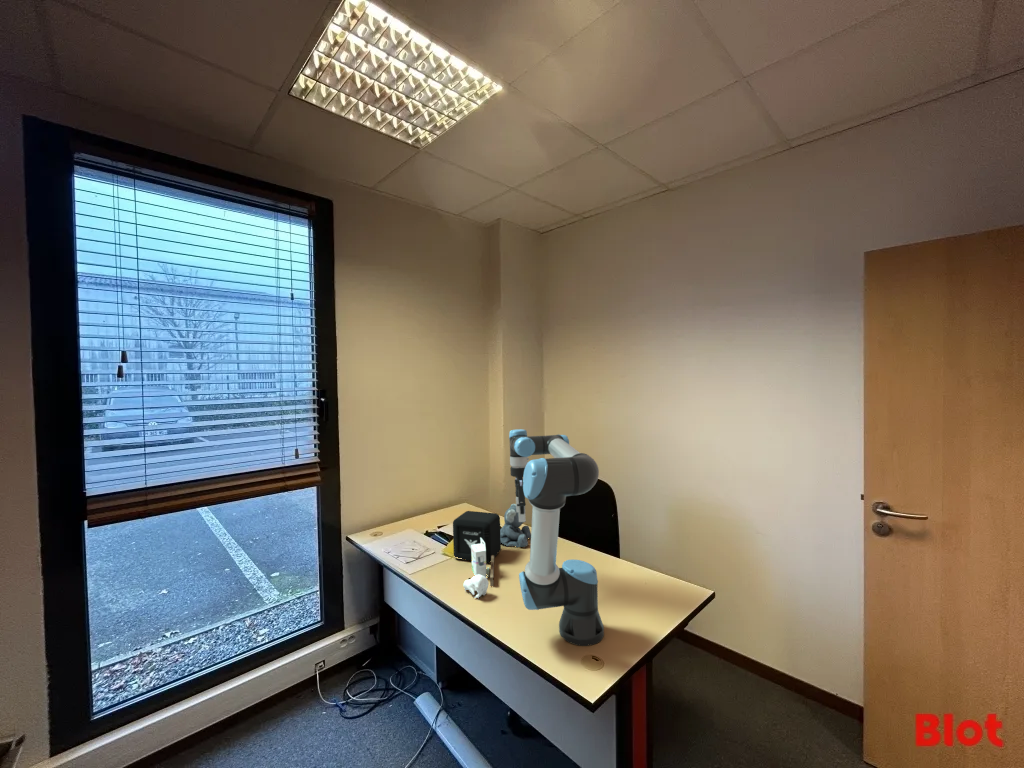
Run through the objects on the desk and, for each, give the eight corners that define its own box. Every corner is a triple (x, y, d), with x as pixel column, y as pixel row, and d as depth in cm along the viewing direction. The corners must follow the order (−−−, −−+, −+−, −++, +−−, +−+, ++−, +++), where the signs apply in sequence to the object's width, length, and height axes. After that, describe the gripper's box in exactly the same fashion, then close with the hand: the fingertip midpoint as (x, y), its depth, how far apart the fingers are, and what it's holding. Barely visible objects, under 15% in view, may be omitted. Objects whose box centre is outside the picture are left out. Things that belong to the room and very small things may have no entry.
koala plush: (527, 549, 208) (526, 511, 208) (493, 547, 211) (492, 510, 211) (531, 536, 225) (530, 501, 225) (500, 535, 228) (499, 500, 228)
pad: (488, 578, 178) (488, 577, 178) (468, 579, 178) (468, 577, 178) (489, 568, 187) (489, 567, 187) (469, 569, 187) (469, 568, 187)
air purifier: (451, 560, 198) (450, 519, 198) (464, 548, 211) (463, 510, 211) (489, 565, 191) (488, 523, 191) (500, 553, 205) (499, 513, 205)
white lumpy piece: (477, 579, 159) (458, 573, 167) (480, 602, 159) (459, 594, 167) (489, 573, 164) (469, 568, 172) (491, 595, 164) (471, 588, 172)
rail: (493, 586, 171) (492, 577, 171) (490, 586, 171) (490, 577, 171) (494, 563, 193) (493, 555, 193) (491, 563, 193) (491, 555, 193)
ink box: (471, 570, 185) (470, 538, 185) (481, 568, 187) (480, 536, 187) (476, 578, 177) (475, 545, 177) (487, 576, 179) (486, 543, 179)
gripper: (531, 471, 159) (533, 525, 159) (525, 461, 184) (526, 508, 184) (512, 472, 159) (514, 526, 158) (508, 461, 184) (510, 508, 183)
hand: (520, 516), depth 171 cm, fingers open, 13 cm apart
